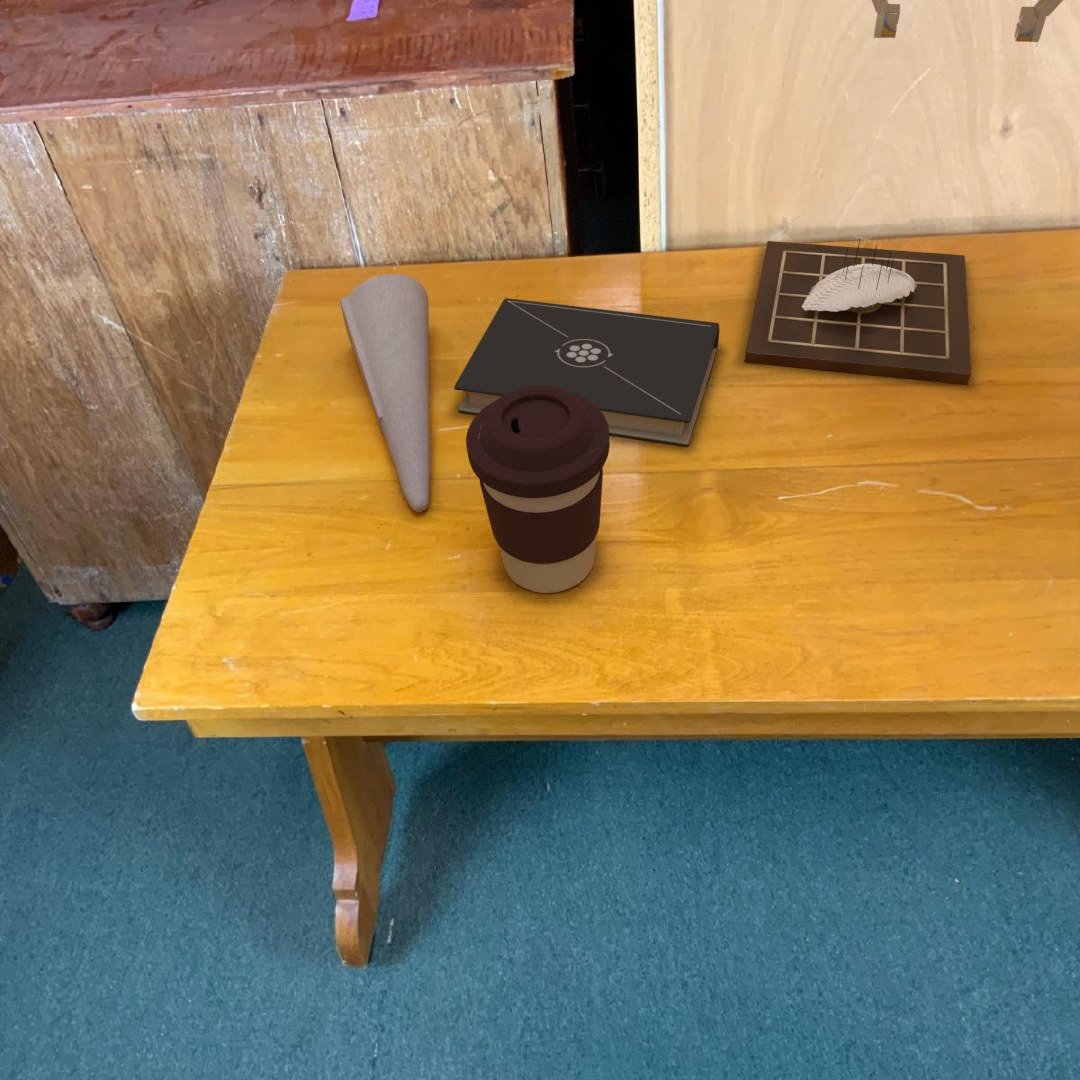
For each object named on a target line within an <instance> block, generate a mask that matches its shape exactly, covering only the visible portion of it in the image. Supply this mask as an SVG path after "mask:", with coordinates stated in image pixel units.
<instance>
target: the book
mask: <svg viewBox="0 0 1080 1080" xmlns="http://www.w3.org/2000/svg"><path fill="white" fill-rule="evenodd" d="M719 340H720V323H719V322H715V321H714V322H713V321H705V320H695V319H689V318H680V317H671V316H662V315H655V314H654V315H653V314H645V313H637V312H629V311H619V310H613V309H612V310H610V309H603V308H602V309H601V308H593V307H587V306H585V307H584V306H579V305H578V306H576V305H570V304H569V305H568V304H560V303H559V304H558V303H551V302H542V301H535V300H527V299H515V298H509V297H505V298H504V299H503V300H502V301H501V304H500V305H499V307H498V309H497V311H496V313H494V316H493V318H492V319H491V321H490V323H489V324H488V326H487V327H486V329H485V332H484V334H483V335H482V337H481V339H480V340H479V342H478V344H477V346H476V347H475V349H474V351H473V353H472V354H471V356H470V357H469V359H468V361H467V363H466V365H465V367H464V368H463V370H462V372H461V374H460V375H459V378H458V379H457V381H456V382H455V384H454V390H455V391H461V392H466V395H465V396H464V398H463V400H462V401H461V403H460V405H459V407H458V409H457V411H458V412H459V413H461V414H468V415H473V416H475V415H476V416H477V414H478V413H479V412H480V411H481V410H482V409H483V408H485V407H486V406H487V405H489V404H490V403H492V402H493V401H495V400H497V399H499V398H500V397H502V396H503V395H505V394H506V393H508V392H510V391H513V390H516V389H519V388H522V387H527V386H537V385H543V386H553V387H557V388H560V389H563V390H566V391H568V392H570V393H574V394H576V395H579V396H581V397H583V398H585V399H587V400H588V401H590V402H591V403H593V404H594V405H595V406H596V407H597V408H598V409H599V410H600V411H601V412H602V413H603V415H604V417H605V419H606V421H607V423H608V427H609V436H614V437H621V438H627V439H634V440H640V441H641V440H642V441H646V442H655V443H661V444H668V445H674V446H680V447H689V446H690V443H691V439H692V437H693V433H694V430H695V427H696V424H697V419H698V417H699V413H700V411H701V407H702V404H703V400H704V396H705V393H706V390H707V387H708V384H709V381H710V380H709V379H710V377H711V374H712V369H713V367H714V363H715V360H716V357H717V353H718V347H719V342H720V341H719Z"/></svg>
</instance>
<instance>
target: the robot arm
mask: <svg viewBox="0 0 1080 1080" xmlns="http://www.w3.org/2000/svg"><path fill="white" fill-rule="evenodd" d="M1063 1H1064V0H1038V1H1037V2H1036V3H1035V4H1034V6H1021V7H1020V10H1019V14H1018V22H1017V23H1016V26H1015V29H1014V41H1015V42H1019V43H1020V42H1021V43H1038V42H1039V41H1040V39H1041V36H1042V32H1043V29H1044V25H1045V23H1046V20H1047V17H1049V16H1051V14H1052V13H1053V12H1054V11H1056V9H1057V8H1058V7H1059V5H1061V4H1062V2H1063ZM871 2H872V5H873V7H874V10H875V13H876V18H875V23H874V31H873V38H875V39H896V36H897V29H898V28H897V26H898V24H899V20H900V14H901V4H900V3H889V0H871Z"/></svg>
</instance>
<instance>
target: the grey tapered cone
mask: <svg viewBox="0 0 1080 1080" xmlns="http://www.w3.org/2000/svg"><path fill="white" fill-rule="evenodd" d="M339 305H340V308H341V313H342V318H343V322H344V326H345V331H346V334H347V337H348V340H349V343H350V345H351V348H352V351H353V355H354V358H355V361H356V363H357V366H358V370H359V372H360V375H361V378H362V381H363V383H364V387H365V389H366V393H367V396H368V398H369V401H370V404H371V407H372V410H373V413H374V417H375V419H376V422H377V425H378V427H379V430H380V433H381V436H384V439H385V442H386V445H387V449H388V451H389V455H390V456H391V459H392V462H393V464H394V468H395V470H396V474H397V476H398V480H399V484H400V489H401V491H402V494H403V496H404V499H405V500H406V502H407V503H408V505H409V507H410V509H412V511H414V512H415V513H422V512H423V511H425V510H426V509H427V508H428V506H429V503H430V485H431V484H430V480H431V478H430V477H431V429H430V428H431V427H430V426H431V425H430V423H431V420H430V342H429V341H430V340H429V337H430V336H429V328H430V319H429V318H430V316H429V315H430V313H429V312H430V311H429V310H430V309H429V296H428V292H427V290H426V288H425V287H424V285H423V284H422V283H421V282H420V281H418V280H417V279H415V278H414V277H411V276H408V275H405V274H399V273H387V274H386V273H385V274H380V275H376V276H374V277H371V278H369V279H367V280H365V281H362V282H361V283H360V284H358V285H357V286H355V288H354V289H353V290H352V291H351V292H350V293H349V294H348V295H347V296H346V297H342V298H339Z"/></svg>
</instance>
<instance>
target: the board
mask: <svg viewBox="0 0 1080 1080" xmlns="http://www.w3.org/2000/svg"><path fill="white" fill-rule="evenodd" d="M847 248H848V251H847ZM857 249H858V252H857ZM890 251H891V254H890ZM846 253H847V256H846ZM874 253H875V256H874ZM856 254H857V258H856ZM889 255H890V259H889ZM845 258H846V262H845ZM873 258H874V261H873ZM855 259H856V263H855ZM893 259H894V260H893ZM888 260H889V263H888ZM848 261H849V264H848ZM882 261H883V264H882ZM892 261H893V264H892ZM844 263H845V267H844ZM872 263H873V264H877V265H882V266H886V267H887V264H888V267H891V265H892V268H894V269H897V270H900V271H903V272H904V273H906V274H909V275H910V276H911V278H913V279H914V281H915V283H916V285H917V287H916V288H915V287H914V288H915V290H914V292H911V291H910V294H909V296H907V297H905V296H903V298H901V299H898V298H897V299H895V300H894V301H893V302H886V303H884V304H883V303H881V304H880V303H876V304H874V307H872V305H869V306H868V307H861V306H860V307H856V308H855V311H854V310H853V309H854V307H851V308H849V309H848V310H844V311H842V310H841V311H838V312H834V311H833V312H831V311H825V310H823V311H817V310H811V309H810V310H806V311H805V310H804V308H802V305H803V304H804V303H805V302H804V301H805V300H806V299H807V298H806V297H807V296H808V295H810V294H811V293H810V292H811V291H810V290H812V289H813V288H812V287H814V286H816V285H817V284H816V283H818V282H820V281H821V280H823V279H824V278H825V277H826V276H828V275H830V274H832V273H834V272H836V271H838V270H841V269H842V268H846V267H847V265H848V267H849V266H853V265H854V264H855V265H858V264H872ZM761 267H762V268H761V271H760V277H759V283H758V286H757V287H758V288H757V292H756V298H755V302H754V308H753V313H752V319H751V323H750V328H749V333H748V338H747V344H746V349H745V353H744V354H745V355H744V363H750V364H759V365H769V366H779V367H789V368H790V367H791V368H799V369H811V370H821V371H830V372H839V373H849V374H857V375H858V374H860V375H871V376H880V377H889V378H897V379H909V380H916V381H917V380H918V381H928V382H937V383H948V384H958V385H966V386H967V385H969V382H970V379H971V378H972V377H971V376H972V365H971V364H972V363H971V346H970V343H971V342H970V328H969V327H970V326H969V324H970V323H969V308H968V288H967V271H966V269H967V268H966V255H964V254H951V253H936V252H925V251H924V252H923V251H911V250H910V251H909V250H898V249H897V250H896V249H883V248H876V252H875V248H871V247H869V248H868V247H858V246H843V245H842V246H841V245H828V244H816V243H815V244H814V243H801V242H788V241H787V242H786V241H775V240H774V241H773V240H767V242H766V247H765V253H764V257H763V263H762V266H761ZM843 274H844V273H843ZM836 278H837V277H836ZM809 293H810V294H809Z"/></svg>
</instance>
